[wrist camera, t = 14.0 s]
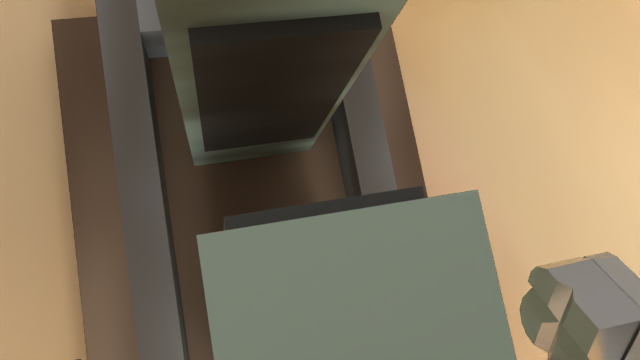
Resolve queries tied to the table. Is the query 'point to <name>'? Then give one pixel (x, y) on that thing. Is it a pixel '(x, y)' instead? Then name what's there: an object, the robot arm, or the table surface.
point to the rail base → (213, 142)
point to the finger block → (356, 281)
